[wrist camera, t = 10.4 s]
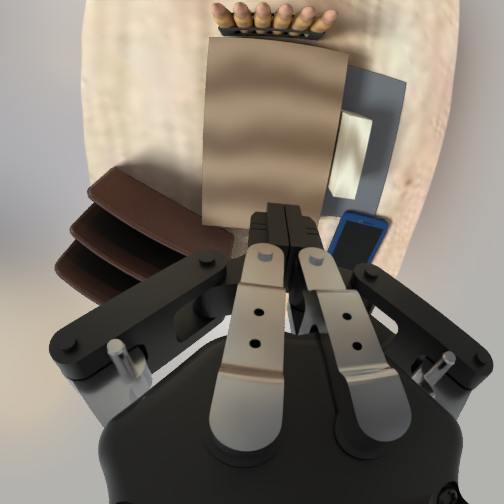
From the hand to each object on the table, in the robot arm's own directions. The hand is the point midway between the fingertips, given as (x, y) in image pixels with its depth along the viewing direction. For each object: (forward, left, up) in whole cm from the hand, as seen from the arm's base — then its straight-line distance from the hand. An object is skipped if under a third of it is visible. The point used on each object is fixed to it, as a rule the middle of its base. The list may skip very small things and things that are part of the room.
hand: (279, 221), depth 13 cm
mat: (0, +12, -22) cm, 25 cm away
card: (0, +9, -19) cm, 21 cm away
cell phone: (+16, +14, -22) cm, 31 cm away
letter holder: (+15, -14, -22) cm, 30 cm away
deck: (0, 0, -22) cm, 22 cm away
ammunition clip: (-13, -1, -22) cm, 26 cm away
